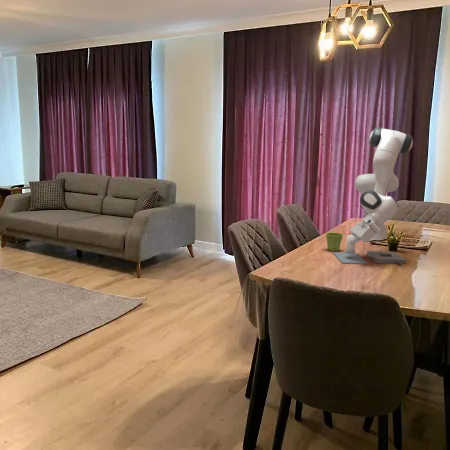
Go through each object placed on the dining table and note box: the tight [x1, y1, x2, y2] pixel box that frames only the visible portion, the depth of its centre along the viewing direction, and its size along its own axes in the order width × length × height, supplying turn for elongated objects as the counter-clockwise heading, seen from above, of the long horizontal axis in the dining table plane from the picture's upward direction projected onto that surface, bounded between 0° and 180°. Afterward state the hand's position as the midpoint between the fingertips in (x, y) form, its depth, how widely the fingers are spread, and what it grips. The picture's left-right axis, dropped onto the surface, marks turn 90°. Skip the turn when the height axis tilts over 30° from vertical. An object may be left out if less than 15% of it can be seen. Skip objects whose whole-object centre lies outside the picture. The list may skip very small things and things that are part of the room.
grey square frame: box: [366, 250, 407, 267], centre depth 234 cm, size 21×14×2 cm, turn 0°
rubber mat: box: [332, 251, 368, 265], centre depth 236 cm, size 20×12×1 cm, turn 0°
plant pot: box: [325, 231, 344, 252], centre depth 253 cm, size 9×9×9 cm
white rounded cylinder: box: [344, 234, 356, 254], centre depth 235 cm, size 5×5×8 cm
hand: (349, 242), depth 235 cm, fingers closed on white rounded cylinder, 4 cm apart
